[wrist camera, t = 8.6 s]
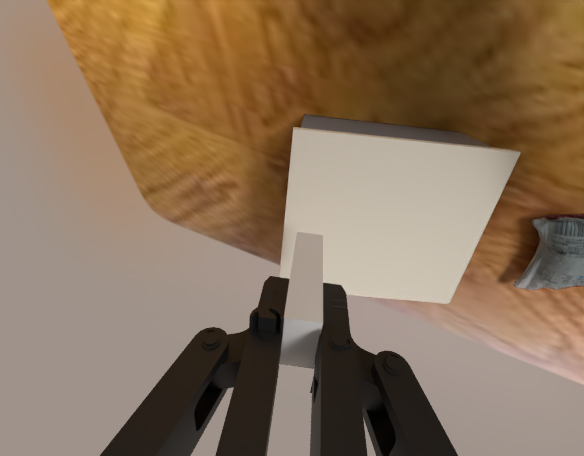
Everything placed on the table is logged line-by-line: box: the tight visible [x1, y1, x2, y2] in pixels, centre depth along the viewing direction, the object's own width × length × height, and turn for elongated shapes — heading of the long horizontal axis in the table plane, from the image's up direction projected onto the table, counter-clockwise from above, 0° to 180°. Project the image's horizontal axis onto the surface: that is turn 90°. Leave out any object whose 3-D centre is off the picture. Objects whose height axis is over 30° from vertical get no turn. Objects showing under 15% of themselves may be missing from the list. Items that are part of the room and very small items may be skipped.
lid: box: [279, 127, 521, 304], centre depth 22 cm, size 13×14×1 cm
